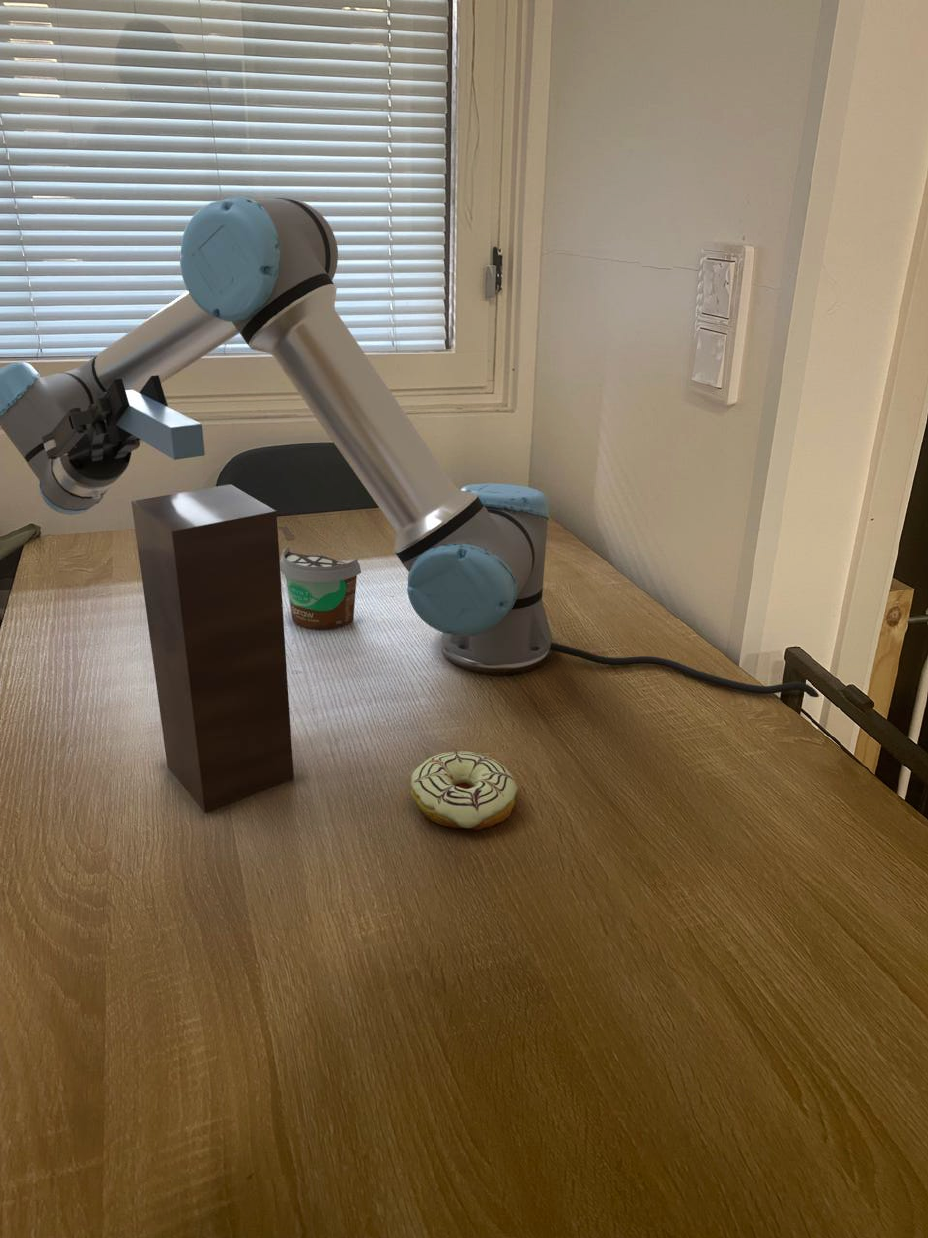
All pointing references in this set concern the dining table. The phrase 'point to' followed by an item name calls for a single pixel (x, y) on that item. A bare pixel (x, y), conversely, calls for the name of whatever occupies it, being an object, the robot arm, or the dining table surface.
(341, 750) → the dining table surface
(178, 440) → the bar
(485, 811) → the decorated donut
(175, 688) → the stand
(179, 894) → the dining table surface
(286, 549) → the food container
